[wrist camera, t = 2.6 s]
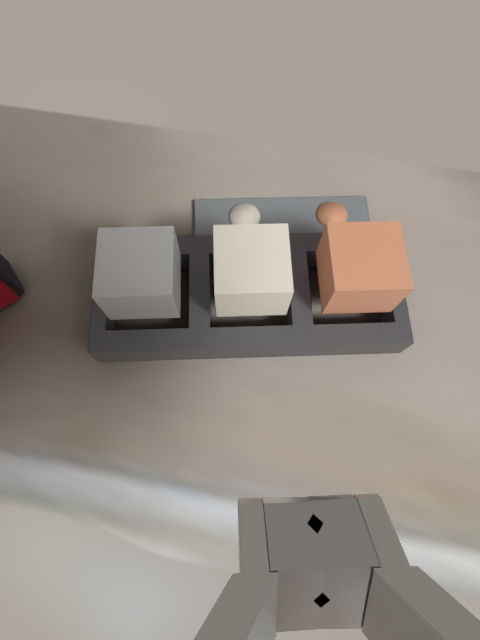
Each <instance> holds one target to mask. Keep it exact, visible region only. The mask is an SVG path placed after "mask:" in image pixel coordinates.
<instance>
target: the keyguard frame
mask: <svg viewBox="0 0 480 640" xmlns="http://www.w3.org/2000/svg"><path fill="white" fill-rule="evenodd" d="M322 234H323V233H289V240H290V252H291V264H292V276H293V288H294V293H293V296H292V299H291V302H290V305H289V308H288V311H287V325H283V326H247V327H211V269H214V244H213V235H195V236H176V237H177V241H178V245H179V249H180V253H181V270H189V328H177V329H141V330H116V320H110V319H109V318H108V317H107V315H106V314H105V313H104V312H103V311H102V309H101V308H100V307H99V306H98V305H97V303H96V302H95V301H94V300H93V301H92V312H91V323H90V334H89V345H88V353H89V354H90V355H91V356H93V357H94V358H95V359H96V360H98V361H99V362H113V361H146V360H180V359H213V358H246V357H279V356H312V355H345V354H378V353H400V352H402V351H403V350H405V349H406V348H408V347H409V346H410V345H412V344H413V343H414V341H413V336H412V330H411V325H410V319H409V314H408V308H407V302H406V297H405V298H404V299H403V300H402V301H401V302H400V303H399V304H398V305H397V306H396V307H395V308H394V309H393V310H392V311H391V312H380V317H381V323H353V324H318V325H313V315H312V305H311V295H310V284H309V274H308V267H317V261H316V250H317V247H318V245H319V242H320V239H321V237H322Z"/></svg>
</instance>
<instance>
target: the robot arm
mask: <svg viewBox="0 0 480 640" xmlns="http://www.w3.org/2000/svg"><path fill="white" fill-rule="evenodd" d="M238 532H239V573H237V574H233V575H232V576H231V578H230V580H229V581H228V583H227V585H226V586H225V588H224V590H223V591H222V593H221V595H220V597H219V598H218V600H217V602H216V603H215V605H214V607H213V608H212V610H211V612H210V613H209V615H208V617H207V618H206V620H205V622H204V624H203V625H202V627H201V629H200V630H199V632H198V634H197V635H196V637H195V639H194V640H274V639H275V637H276V632H285V631H298V630H311V629H352V628H353V629H355V628H356V629H359V628H362V632H363V633H364V635H365V636H366V637H367V639H368V640H480V621H479V620H478V619H477V618H476V617H475V616H474V615H473V614H471V613H470V612H469V611H468V610H467V609H466V608H465V607H463V606H462V605H461V604H460V603H459V602H458V601H457V600H455V599H454V598H453V597H452V596H451V595H450V594H449V593H448V592H446V591H445V590H444V589H443V588H442V587H441V586H440V585H438V584H437V583H436V582H435V581H434V580H433V579H432V578H430V577H429V576H428V575H427V574H426V573H425V572H424V571H423V570H421V569H420V568H419V567H418V566H410V565H409V562H408V560H407V558H406V555H405V553H404V550H403V548H402V546H401V543H400V541H399V539H398V536H397V534H396V531H395V529H394V527H393V524H392V522H391V520H390V517H389V515H388V513H387V510H386V508H385V505H384V503H383V501H382V498H381V497H380V496H379V495H378V494H359V495H352V494H350V495H330V496H310V497H293V498H239V499H238Z"/></svg>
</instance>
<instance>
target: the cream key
mask: <svg viewBox="0 0 480 640" xmlns="http://www.w3.org/2000/svg"><path fill="white" fill-rule="evenodd" d="M213 244H214V296H215V305H216V314H217V317H228V316H264V315H286V314H287V311H288V308H289V305H290V302H291V299H292V296H293V293H294V288H293V276H292V264H291V252H290V240H289V228H288V223H279V224H234V225H213Z"/></svg>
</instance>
